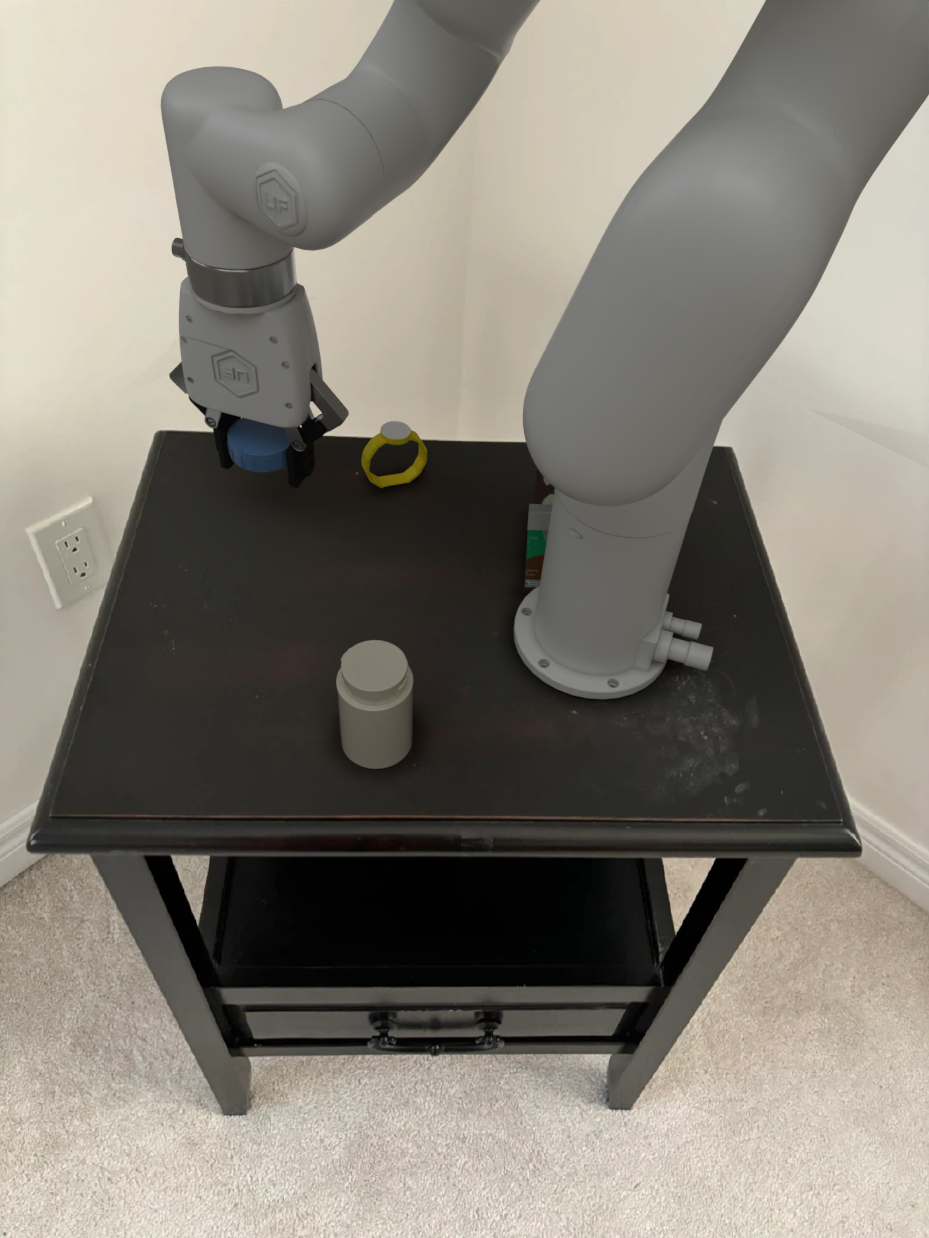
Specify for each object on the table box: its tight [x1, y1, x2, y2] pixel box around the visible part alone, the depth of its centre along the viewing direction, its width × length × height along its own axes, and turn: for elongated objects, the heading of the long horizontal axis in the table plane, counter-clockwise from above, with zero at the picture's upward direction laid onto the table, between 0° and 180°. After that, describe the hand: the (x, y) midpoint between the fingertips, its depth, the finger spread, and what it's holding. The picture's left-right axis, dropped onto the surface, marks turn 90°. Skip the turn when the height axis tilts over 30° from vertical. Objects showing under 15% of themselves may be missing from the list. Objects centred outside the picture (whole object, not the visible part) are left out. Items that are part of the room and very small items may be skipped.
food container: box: [523, 468, 555, 594], centre depth 78 cm, size 12×6×10 cm, turn 172°
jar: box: [335, 639, 414, 770], centre depth 65 cm, size 5×5×9 cm
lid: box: [227, 417, 291, 473], centre depth 77 cm, size 6×6×2 cm
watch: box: [360, 420, 428, 489], centre depth 85 cm, size 6×3×6 cm, turn 113°
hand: (267, 466), depth 80 cm, fingers closed on lid, 5 cm apart
